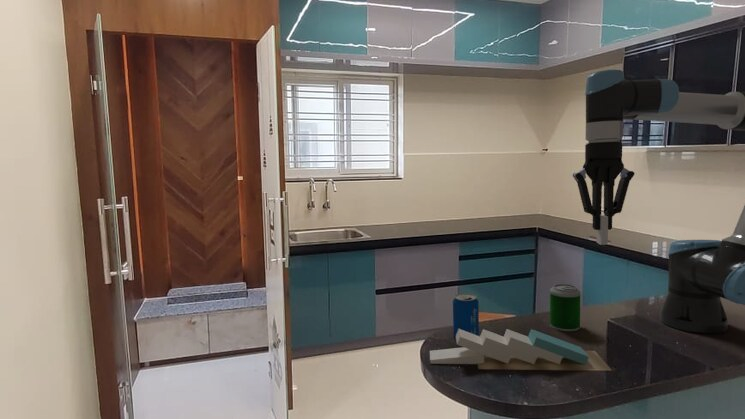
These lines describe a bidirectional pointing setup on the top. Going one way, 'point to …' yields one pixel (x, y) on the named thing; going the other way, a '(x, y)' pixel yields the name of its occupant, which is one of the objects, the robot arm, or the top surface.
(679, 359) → the top surface
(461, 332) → the tile
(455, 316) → the beverage can
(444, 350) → the tile
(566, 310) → the soda can
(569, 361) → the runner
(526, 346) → the tile
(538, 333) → the head tile
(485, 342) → the tile
